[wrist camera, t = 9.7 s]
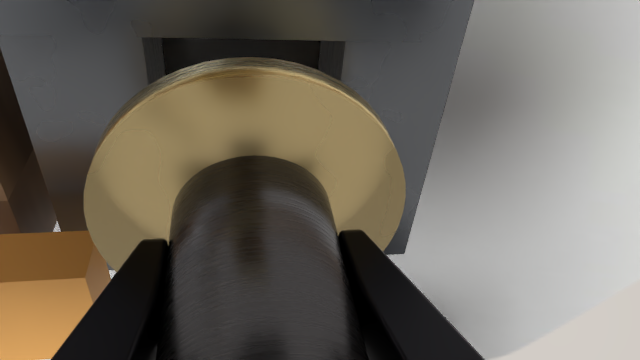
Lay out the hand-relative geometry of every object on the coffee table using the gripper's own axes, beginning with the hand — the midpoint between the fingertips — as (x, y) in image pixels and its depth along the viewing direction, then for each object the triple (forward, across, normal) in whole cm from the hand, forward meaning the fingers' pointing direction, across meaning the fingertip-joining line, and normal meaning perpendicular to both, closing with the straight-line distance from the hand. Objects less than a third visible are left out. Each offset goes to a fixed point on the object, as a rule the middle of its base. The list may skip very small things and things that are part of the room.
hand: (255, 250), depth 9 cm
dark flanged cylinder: (+5, 0, 0) cm, 5 cm away
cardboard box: (+3, +5, +4) cm, 7 cm away
